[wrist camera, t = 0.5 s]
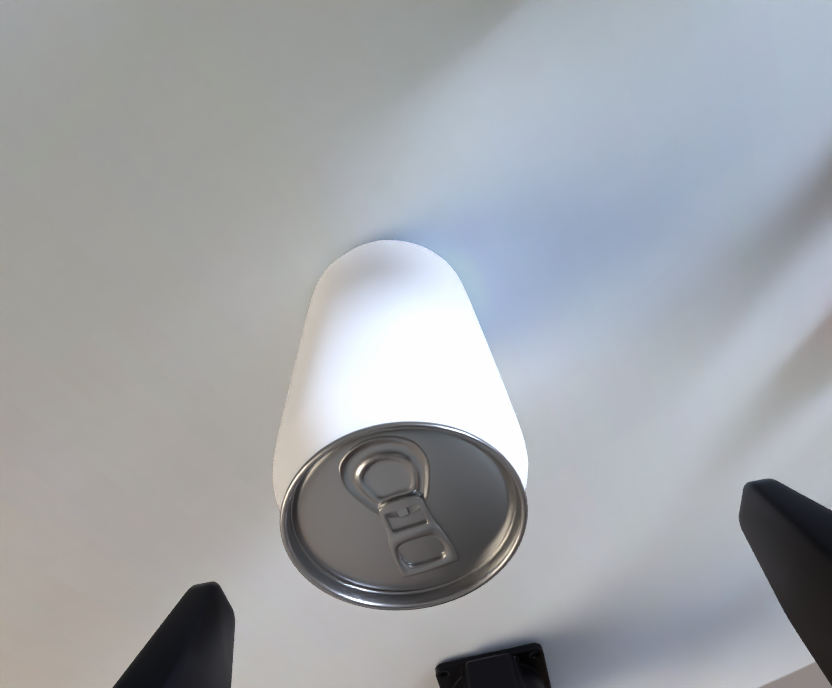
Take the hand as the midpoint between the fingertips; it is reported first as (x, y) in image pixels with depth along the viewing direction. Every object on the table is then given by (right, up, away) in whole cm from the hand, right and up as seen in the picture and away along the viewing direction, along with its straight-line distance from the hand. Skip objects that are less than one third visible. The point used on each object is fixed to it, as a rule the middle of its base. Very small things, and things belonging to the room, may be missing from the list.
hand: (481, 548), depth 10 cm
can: (-2, +5, +14) cm, 15 cm away
